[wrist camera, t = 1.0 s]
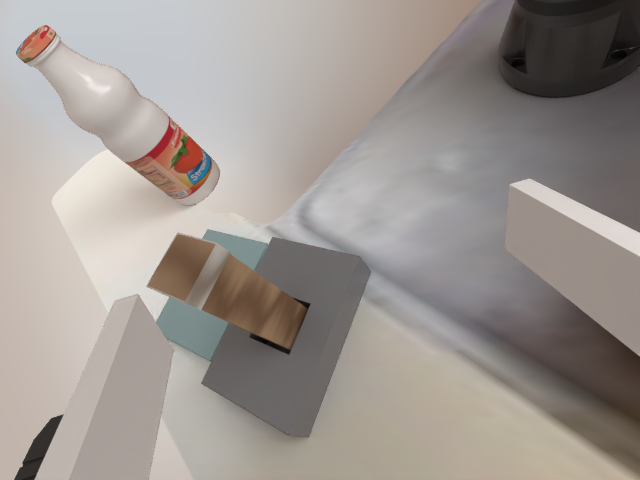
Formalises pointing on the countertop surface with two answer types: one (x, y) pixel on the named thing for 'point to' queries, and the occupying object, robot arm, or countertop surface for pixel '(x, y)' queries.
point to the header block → (309, 347)
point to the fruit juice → (123, 118)
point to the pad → (200, 326)
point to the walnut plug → (227, 290)
